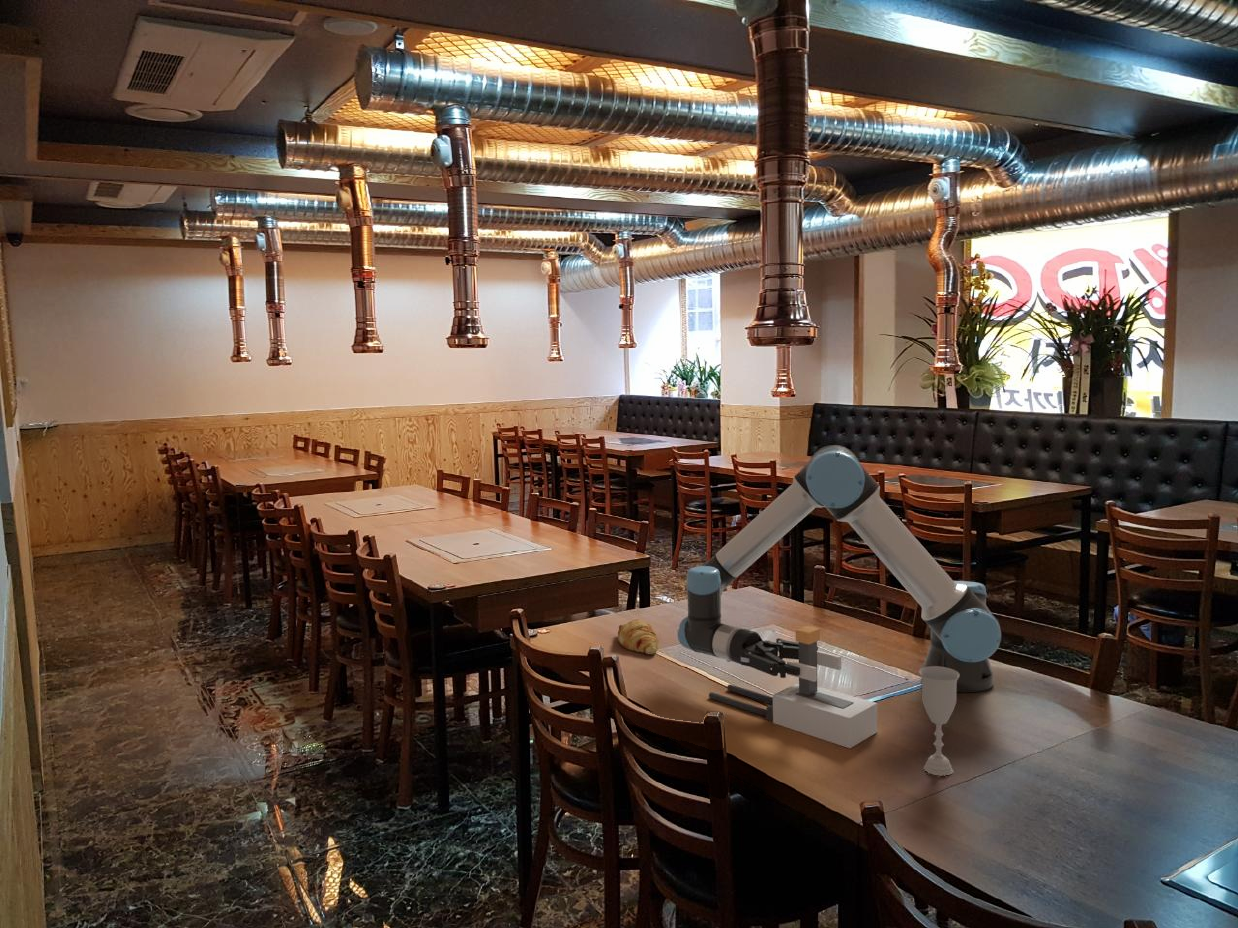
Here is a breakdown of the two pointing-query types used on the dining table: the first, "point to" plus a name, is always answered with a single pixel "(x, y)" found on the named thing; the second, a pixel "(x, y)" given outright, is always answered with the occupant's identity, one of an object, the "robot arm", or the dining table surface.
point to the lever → (807, 655)
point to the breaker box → (826, 715)
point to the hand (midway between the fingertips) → (827, 668)
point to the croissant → (638, 637)
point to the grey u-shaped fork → (745, 706)
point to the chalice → (939, 710)
